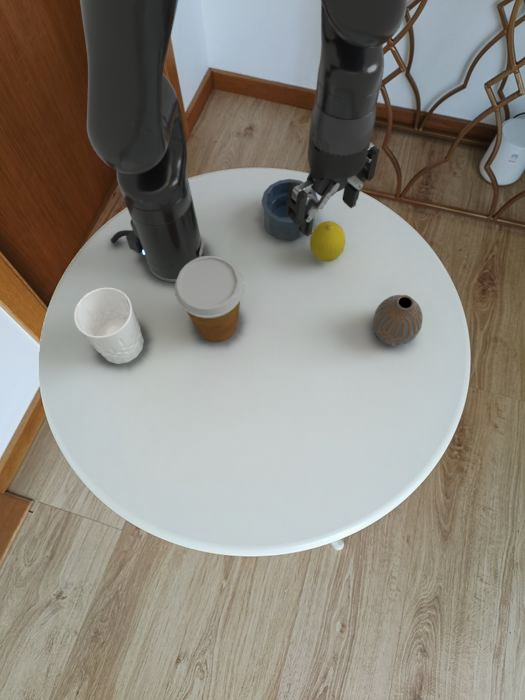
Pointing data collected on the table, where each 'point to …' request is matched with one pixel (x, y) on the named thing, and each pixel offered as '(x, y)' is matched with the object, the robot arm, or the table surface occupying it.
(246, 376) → the table surface
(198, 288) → the disposable coffee cup
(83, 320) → the white cup
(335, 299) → the table surface
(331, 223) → the lemon
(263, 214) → the bowl
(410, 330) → the vase
